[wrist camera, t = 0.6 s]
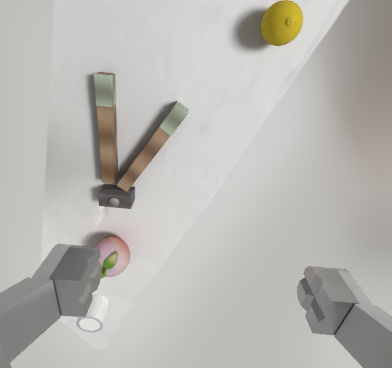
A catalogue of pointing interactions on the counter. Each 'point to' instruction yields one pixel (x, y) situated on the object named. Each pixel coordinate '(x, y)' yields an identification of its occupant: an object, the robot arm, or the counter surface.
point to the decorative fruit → (113, 256)
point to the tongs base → (109, 143)
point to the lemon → (281, 23)
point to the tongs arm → (153, 145)
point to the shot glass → (94, 315)
